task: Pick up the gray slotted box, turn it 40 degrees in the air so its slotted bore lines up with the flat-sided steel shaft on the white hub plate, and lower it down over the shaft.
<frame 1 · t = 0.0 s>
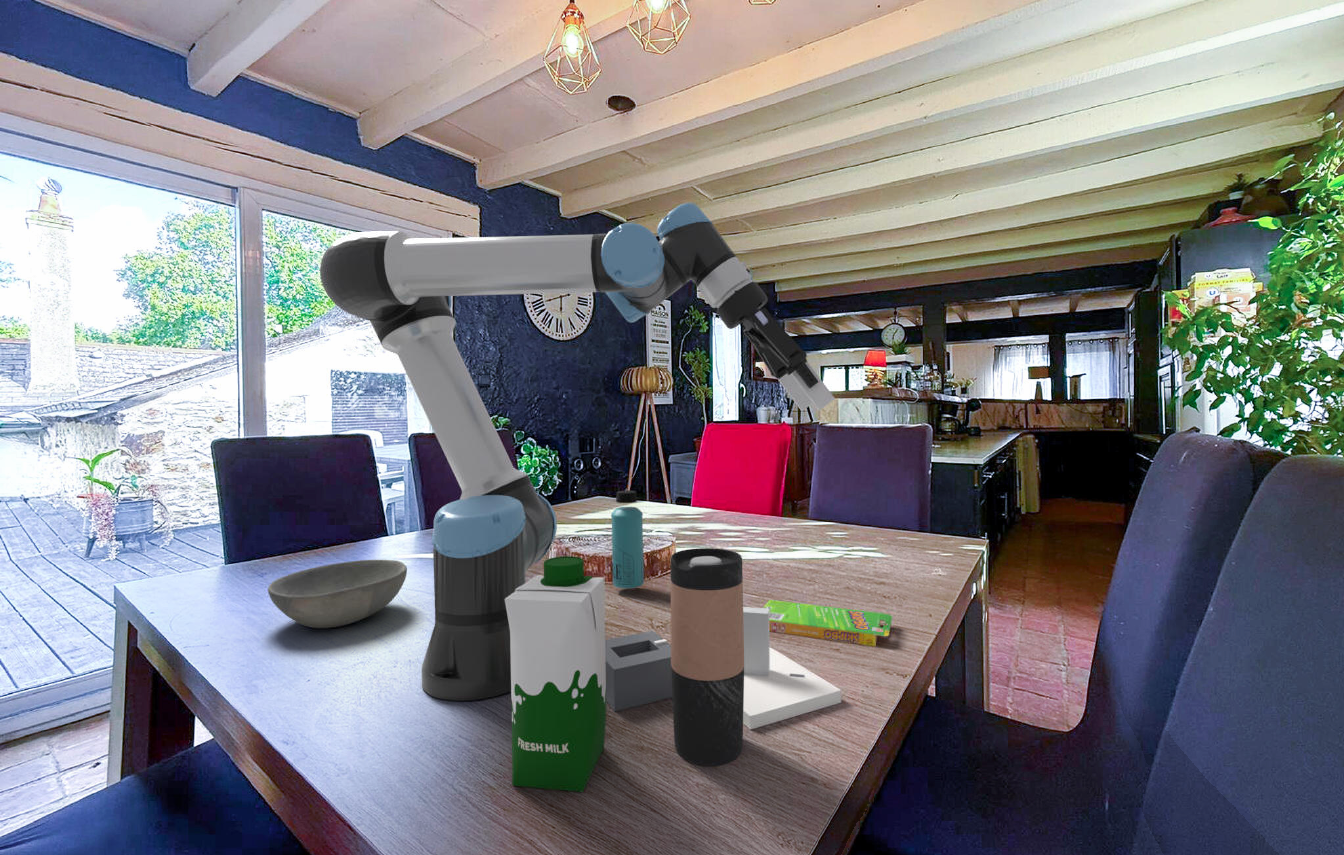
hand: (817, 405, 88), 36 cm above the table, tool tilted 35°, fingers open, 13 cm apart
milk carton: (559, 768, 57), on the table
beverage bottle: (628, 592, 114), on the table
game box: (823, 631, 93), on the table
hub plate: (753, 683, 74), on the table
travel mug: (708, 747, 60), on the table
bowl: (341, 620, 100), on the table
gray slotted box: (635, 687, 73), on the table
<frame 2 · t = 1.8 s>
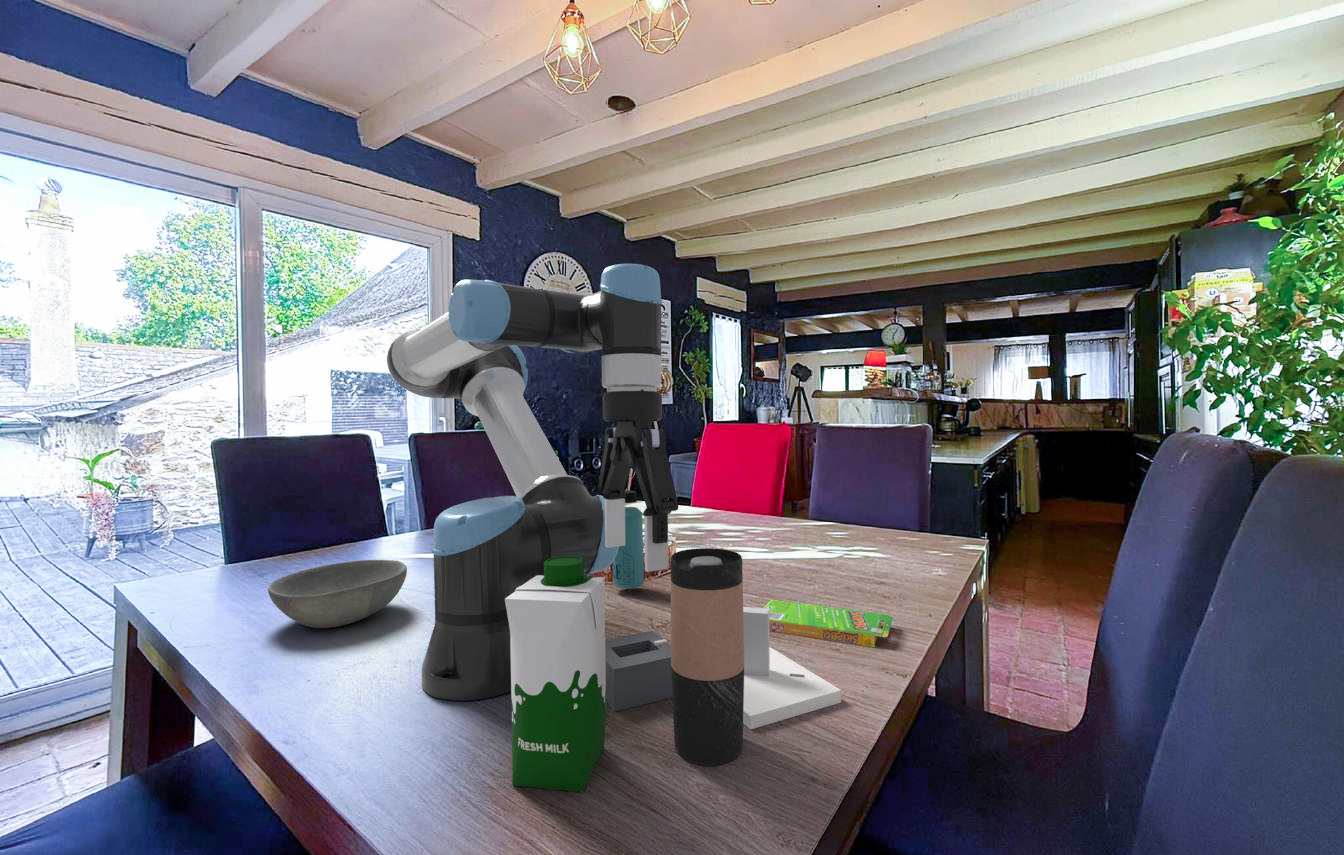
hand: (634, 557, 73), 17 cm above the table, tool pointing down, fingers open, 13 cm apart
nothing on the table moved.
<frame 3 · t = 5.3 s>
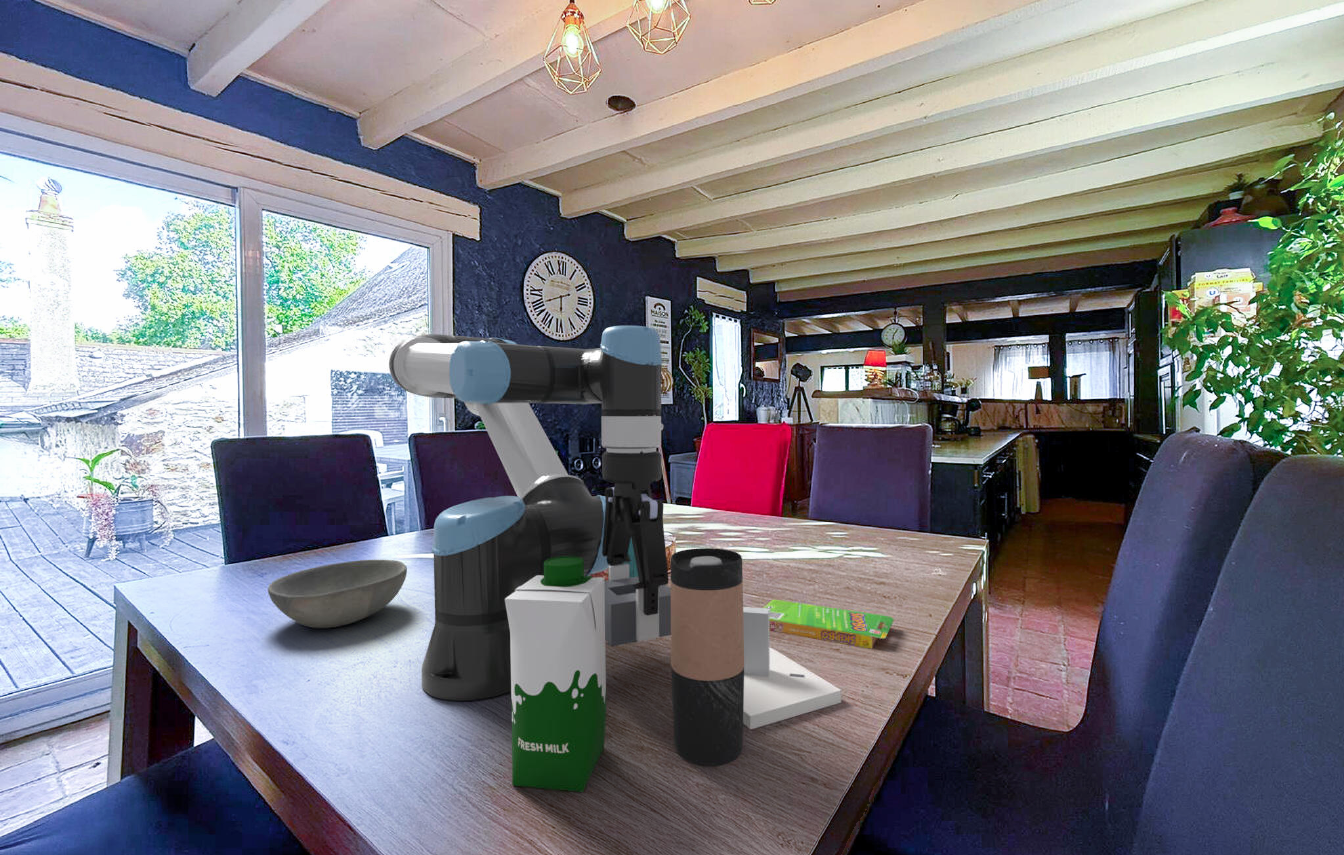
hand: (632, 624, 73), 8 cm above the table, tool pointing down, fingers closed on gray slotted box, 9 cm apart
gray slotted box: (632, 627, 73), point 8 cm above the table, touching gripper
everything else where it was.
when the fingers open (2 cm above the table, at t = 10.1 s): gray slotted box stays where it is, resting on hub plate.
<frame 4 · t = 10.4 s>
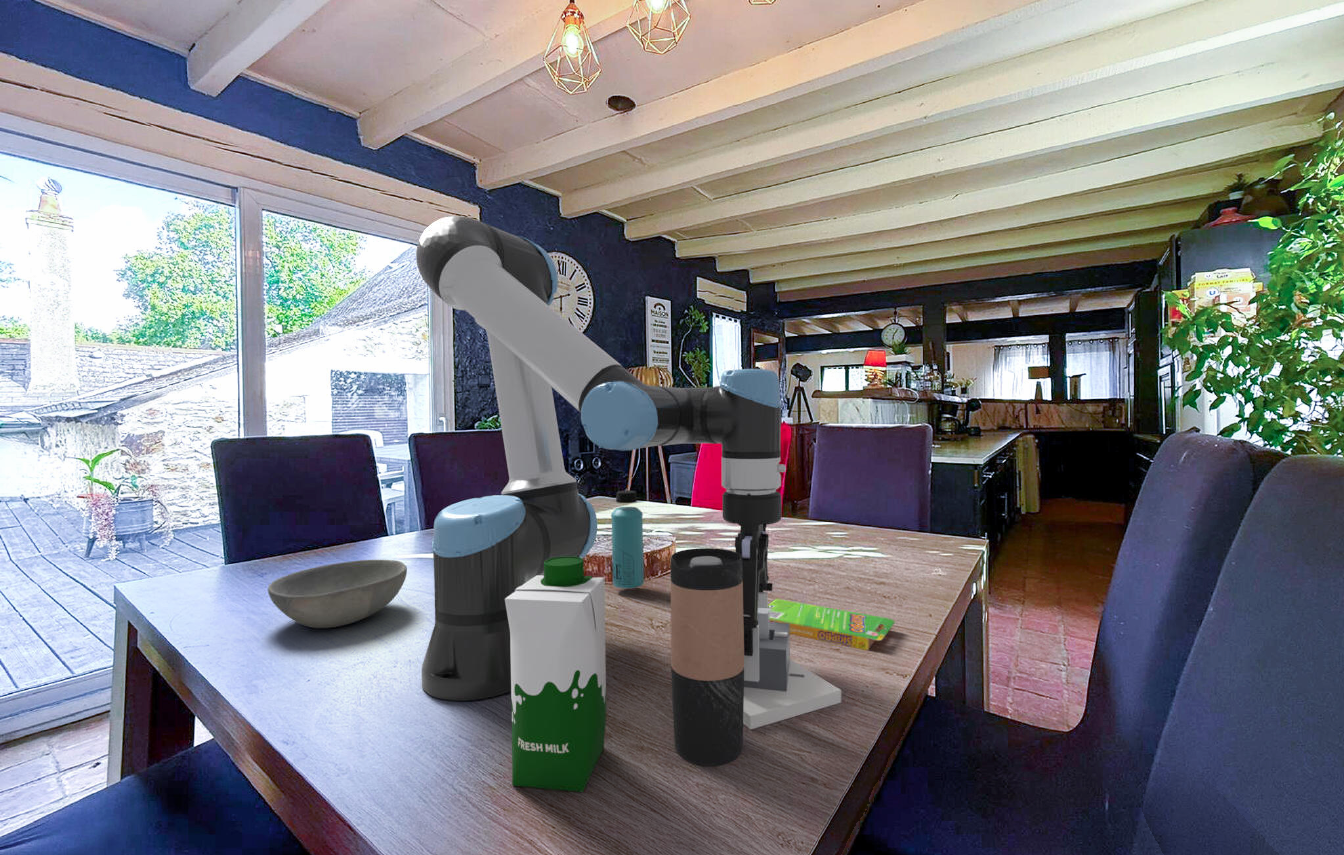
hand: (753, 657, 74), 3 cm above the table, tool pointing down, fingers open, 12 cm apart
gray slotted box: (752, 671, 74), point 1 cm above the table, touching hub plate
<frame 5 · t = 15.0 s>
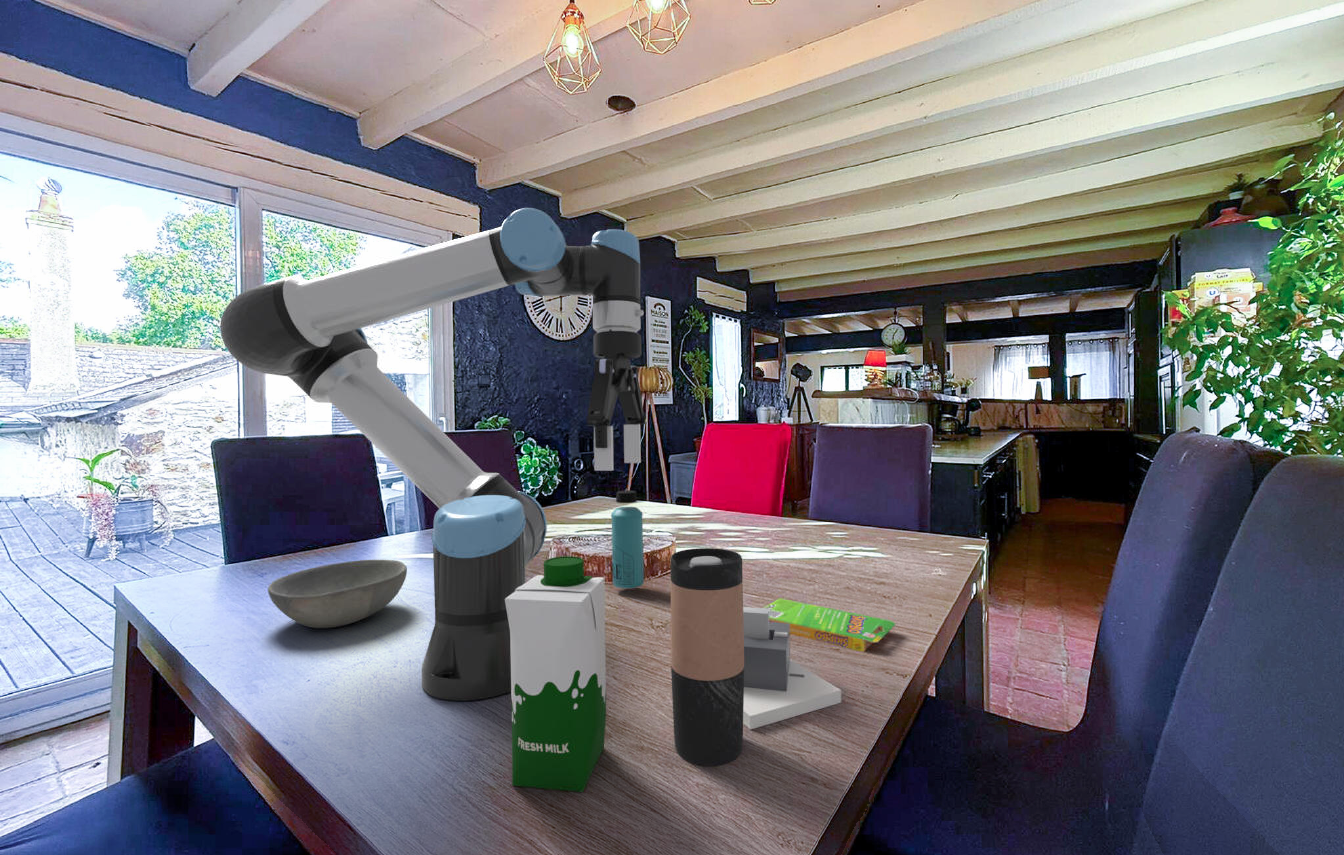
hand: (619, 466, 91), 27 cm above the table, tool pointing down, fingers open, 13 cm apart
at the end: gray slotted box 0.0 cm off-centre on the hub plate, point 1.5 cm above the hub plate's base; gray slotted box tilted 0°; the gripper is holding nothing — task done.
